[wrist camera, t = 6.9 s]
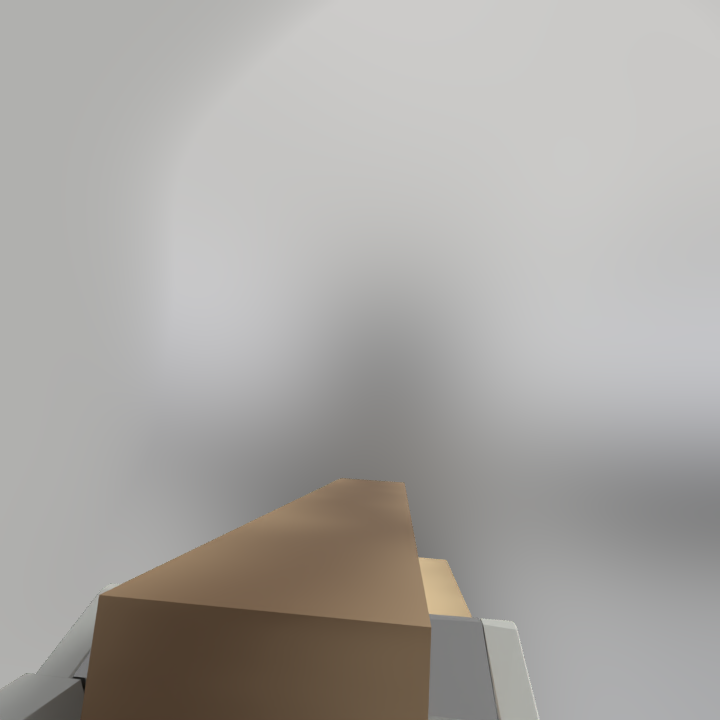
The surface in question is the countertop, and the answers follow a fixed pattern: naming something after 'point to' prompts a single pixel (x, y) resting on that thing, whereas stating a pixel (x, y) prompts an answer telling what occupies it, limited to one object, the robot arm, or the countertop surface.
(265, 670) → the batten
